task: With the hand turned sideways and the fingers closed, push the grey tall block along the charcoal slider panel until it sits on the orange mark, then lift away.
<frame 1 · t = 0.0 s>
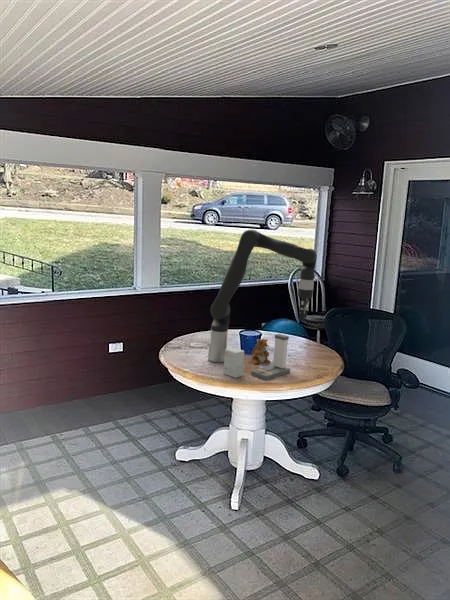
hand: (303, 318, 256), 29 cm above the table, tool pointing down, fingers open, 8 cm apart
stuffed squirrel: (259, 361, 279), on the table
fader panel: (270, 373, 258), on the table
small box: (233, 375, 252), on the table
grey tall block: (280, 351, 261), point 11 cm above the table, slide at 0.0 cm
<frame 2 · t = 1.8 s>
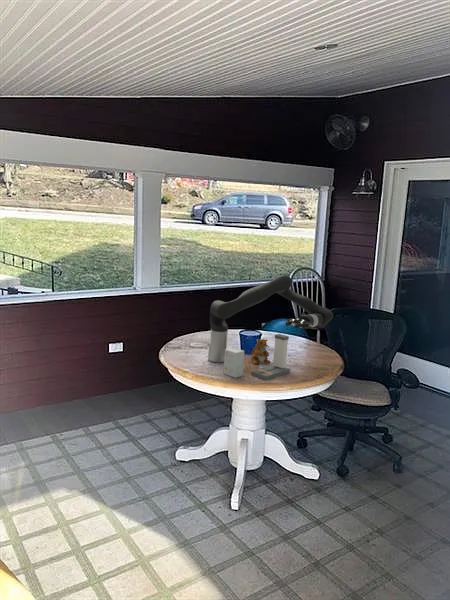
hand: (290, 325, 264), 24 cm above the table, tool horizontal, fingers open, 5 cm apart
nothing on the table moved.
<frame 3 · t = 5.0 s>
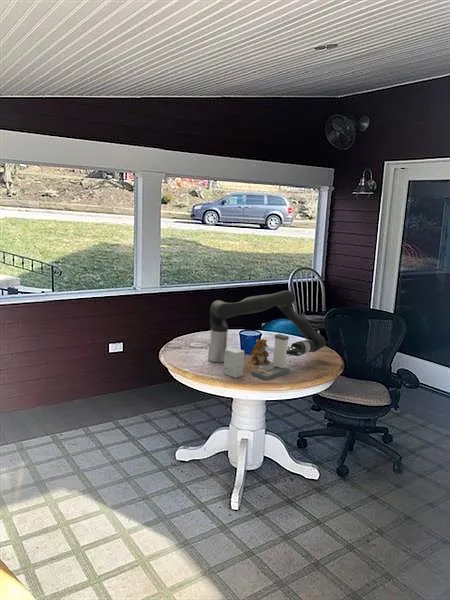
hand: (281, 353, 262), 9 cm above the table, tool horizontal, fingers closed
grey tall block: (280, 351, 261), point 11 cm above the table, slide at 0.0 cm, touching gripper
everything else where it was.
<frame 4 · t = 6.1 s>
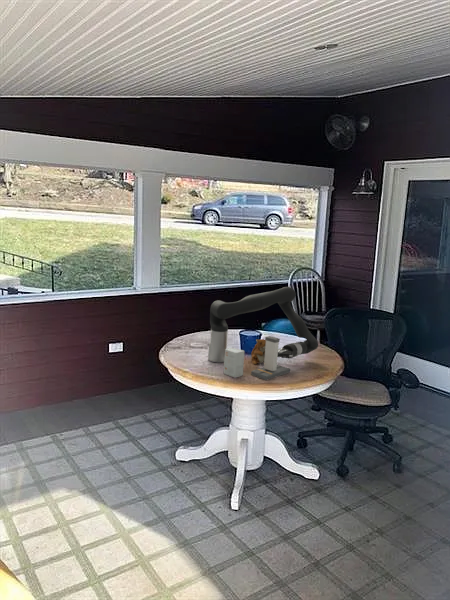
hand: (272, 355, 256), 9 cm above the table, tool horizontal, fingers closed
grey tall block: (271, 353, 255), point 11 cm above the table, slide at 7.9 cm, touching gripper
everything else where it was.
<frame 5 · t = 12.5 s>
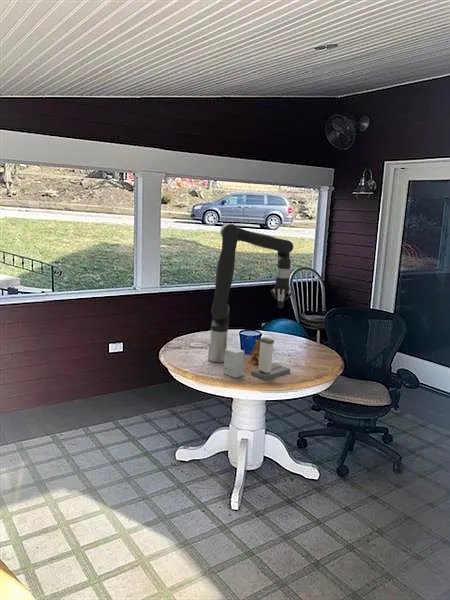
hand: (280, 307, 273), 31 cm above the table, tool pointing down, fingers closed
grey tall block: (265, 355, 252), point 11 cm above the table, slide at 12.5 cm
at the end: grey tall block slide at 12.5 cm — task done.
